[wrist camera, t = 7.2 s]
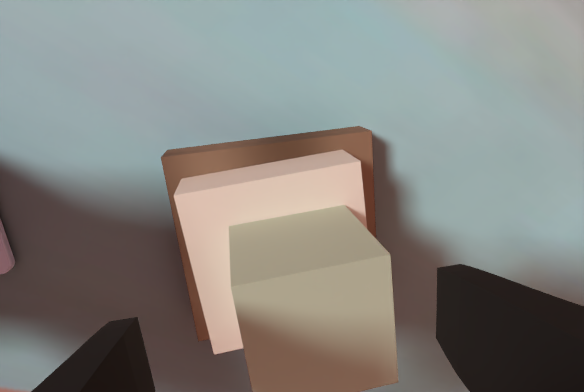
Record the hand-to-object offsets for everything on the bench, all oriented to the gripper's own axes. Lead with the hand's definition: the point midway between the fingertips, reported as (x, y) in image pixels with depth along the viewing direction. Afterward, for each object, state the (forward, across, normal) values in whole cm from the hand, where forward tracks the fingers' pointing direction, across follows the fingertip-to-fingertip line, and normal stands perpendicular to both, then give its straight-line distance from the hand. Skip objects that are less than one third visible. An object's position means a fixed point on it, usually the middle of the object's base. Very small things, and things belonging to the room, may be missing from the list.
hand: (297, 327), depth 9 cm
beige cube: (+6, -1, +2) cm, 6 cm away
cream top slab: (+9, 0, +1) cm, 9 cm away
